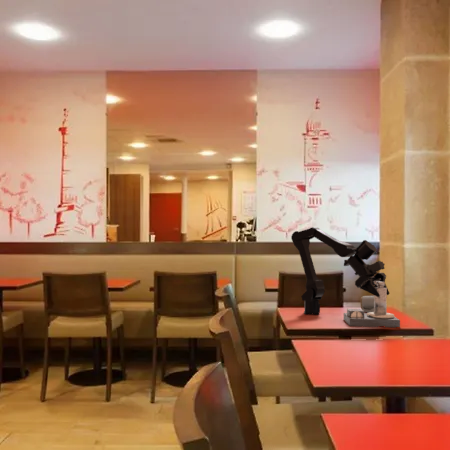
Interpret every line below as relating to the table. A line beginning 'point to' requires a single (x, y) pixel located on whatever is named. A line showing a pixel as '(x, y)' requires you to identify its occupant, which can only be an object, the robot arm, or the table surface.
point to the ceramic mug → (367, 303)
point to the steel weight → (380, 299)
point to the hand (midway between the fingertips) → (383, 295)
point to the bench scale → (370, 319)
